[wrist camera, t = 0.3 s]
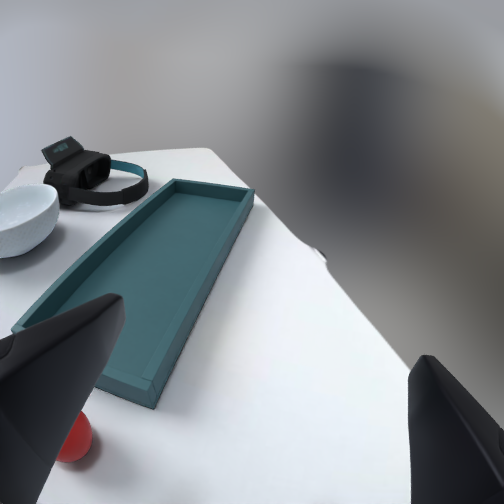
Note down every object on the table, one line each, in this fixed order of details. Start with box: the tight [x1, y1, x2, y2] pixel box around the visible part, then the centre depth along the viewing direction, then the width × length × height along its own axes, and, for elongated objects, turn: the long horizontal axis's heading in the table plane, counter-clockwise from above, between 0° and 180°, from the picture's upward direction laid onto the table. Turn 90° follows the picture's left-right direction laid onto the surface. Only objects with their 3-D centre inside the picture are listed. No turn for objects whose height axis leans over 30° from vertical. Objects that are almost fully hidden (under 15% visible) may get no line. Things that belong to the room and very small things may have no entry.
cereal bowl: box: [0, 184, 59, 258], centre depth 38 cm, size 17×17×7 cm
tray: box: [11, 179, 255, 409], centre depth 40 cm, size 42×16×3 cm, turn 168°
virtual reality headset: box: [42, 136, 149, 206], centre depth 55 cm, size 19×22×10 cm
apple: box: [56, 411, 92, 462], centre depth 16 cm, size 5×5×6 cm
